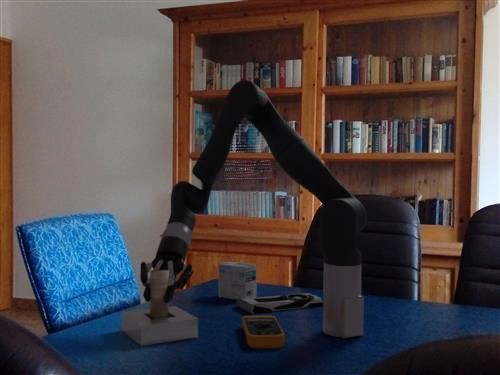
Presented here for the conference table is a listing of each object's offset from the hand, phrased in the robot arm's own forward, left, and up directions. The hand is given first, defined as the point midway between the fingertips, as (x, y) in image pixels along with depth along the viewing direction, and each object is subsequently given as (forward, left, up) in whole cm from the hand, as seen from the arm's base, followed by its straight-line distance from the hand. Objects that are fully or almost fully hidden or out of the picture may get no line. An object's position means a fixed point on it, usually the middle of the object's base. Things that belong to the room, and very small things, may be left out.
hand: (156, 300), depth 131 cm
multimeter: (-13, -22, -9) cm, 27 cm away
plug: (+1, -1, -5) cm, 6 cm away
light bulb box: (+27, -37, -9) cm, 47 cm away
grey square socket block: (+1, -1, -8) cm, 9 cm away
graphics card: (+10, -43, -9) cm, 45 cm away
